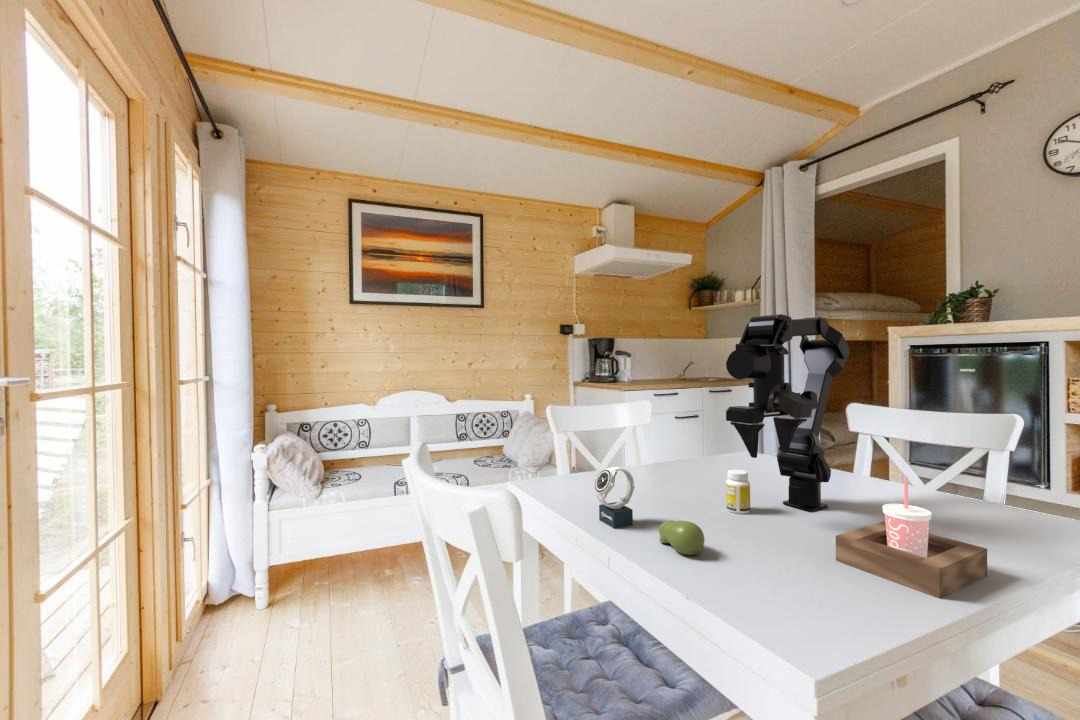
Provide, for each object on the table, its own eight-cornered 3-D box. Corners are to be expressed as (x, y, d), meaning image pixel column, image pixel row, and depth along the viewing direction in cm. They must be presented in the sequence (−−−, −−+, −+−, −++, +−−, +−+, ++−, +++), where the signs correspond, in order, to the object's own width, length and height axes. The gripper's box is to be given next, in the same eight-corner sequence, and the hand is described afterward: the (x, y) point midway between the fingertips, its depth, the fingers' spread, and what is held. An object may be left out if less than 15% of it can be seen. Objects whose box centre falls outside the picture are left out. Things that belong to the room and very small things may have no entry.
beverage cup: (873, 559, 78) (872, 473, 78) (909, 558, 78) (908, 471, 78) (904, 577, 72) (903, 482, 72) (943, 575, 72) (942, 481, 72)
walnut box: (884, 543, 84) (884, 520, 84) (987, 575, 72) (987, 548, 72) (835, 560, 78) (835, 535, 78) (939, 598, 65) (939, 568, 65)
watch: (590, 521, 98) (590, 467, 98) (624, 515, 101) (623, 463, 101) (605, 530, 93) (604, 473, 93) (640, 524, 96) (639, 468, 96)
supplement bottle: (750, 508, 104) (750, 470, 104) (750, 515, 100) (749, 475, 100) (727, 506, 106) (726, 468, 106) (725, 512, 102) (724, 473, 102)
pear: (679, 526, 79) (649, 517, 88) (683, 560, 78) (652, 548, 88) (709, 522, 80) (676, 514, 90) (713, 555, 80) (679, 543, 89)
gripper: (773, 380, 86) (774, 468, 86) (837, 377, 94) (837, 457, 95) (723, 378, 96) (724, 457, 96) (785, 375, 104) (786, 448, 104)
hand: (769, 455), depth 97 cm, fingers open, 9 cm apart
